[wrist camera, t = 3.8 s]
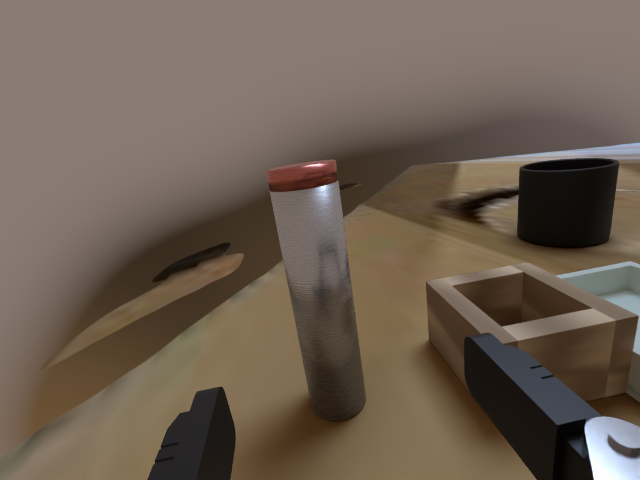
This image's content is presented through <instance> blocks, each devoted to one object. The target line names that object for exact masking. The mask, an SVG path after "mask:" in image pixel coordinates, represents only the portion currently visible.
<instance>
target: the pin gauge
mask: <svg viewBox="0 0 640 480" xmlns="http://www.w3.org/2000/svg"><path fill="white" fill-rule="evenodd" d="M266 173H267V179H268V184H269V189H270V194H271V199H272V204H273V209H274V215H275V220H276V225H277V230H278V235H279V241H280V246H281V251H282V256H283V261H284V266H285V272H286V277H287V282H288V287H289V292H290V297H291V303H292V308H293V313H294V318H295V323H296V329H297V334H298V339H299V344H300V349H301V354H302V360H303V365H304V370H305V375H306V380H307V385H308V391H309V396H310V401H311V406H312V409H313V411H314V412H315V413H316V415H318V416H319V417H320V418H322V419H324V420H328V421H335V422H337V421H344V420H348V419H350V418H352V417H354V416H355V415H357V414H358V413H359V412H360V411H361V410H362V409H363V407H364V405H365V402H366V393H365V385H364V378H363V370H362V362H361V354H360V347H359V339H358V331H357V323H356V316H355V308H354V300H353V292H352V284H351V277H350V269H349V261H348V253H347V246H346V238H345V230H344V222H343V215H342V208H341V199H340V191H339V184H338V176H337V168H336V161H335V160H322V161H314V162H306V163H299V164H293V165H287V166H283V167H277V168H273V169H270V170H267V171H266Z"/></svg>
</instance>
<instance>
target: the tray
mask: <svg viewBox="0 0 640 480" xmlns="http://www.w3.org/2000/svg"><path fill="white" fill-rule="evenodd" d="M557 277H559V278H561V279H563V280H565V281H567V282H569V283H571V284H573V285H576V286H578V287H580V288H582V289H584V290H586V291H588V292H590V293H592V294H594V295H597V296H599V297H601V298H603V299H605V300H607V301H609V302H611V303H613V304H615V305H618V306H620V307H622V308H624V309H626V310H628V311H630V312H632V313H634V314H636V315H639V318H638V324H637V330H636V336H635V342H634V348H633V354H632V360H631V366H630V372H629V377H628V383H627V389H626V393H627V394H628V395H630V396H631V397H633V398H634V399H635V400H637V401H638V402H640V264H637V263H634V262H631V261H630V262H624V263H619V264H614V265H609V266H604V267H599V268H593V269H588V270H583V271H578V272H573V273H568V274H562V275H557Z"/></svg>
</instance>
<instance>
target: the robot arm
mask: <svg viewBox="0 0 640 480" xmlns="http://www.w3.org/2000/svg"><path fill="white" fill-rule="evenodd" d="M464 376H465V381H466V384H467V387H468V389H469V391H470V393H471V394H472V396H473V397H474V398H475V400H476V401H477V402H478V404H479V405H480V406H481V407H482V409H483V410H484V411H485V413H486V414H487V415H488V417H489V418H490V419H491V420H492V422H493V423H494V424H495V426H496V427H497V428H498V430H499V431H500V432H501V433H502V435H503V436H504V437H505V439H506V440H507V441H508V443H509V444H510V445H511V447H512V448H513V449H514V450H515V452H516V453H517V454H518V456H519V457H520V458H521V460H522V461H523V462H524V463H525V465H526V466H527V467H528V469H529V470H530V471H531V473H532V474H533V475H534V476H535V478H536V479H537V480H640V427H638V426H636V425H634V424H632V423H629V422H627V421H624V420H621V419H617V418H612V417H603V416H602V415H601V414H599V413H598V412H597V411H596V410H595V409H593V408H592V407H591V406H590V405H589V404H588V403H586V402H585V401H584V400H583V399H582V398H580V397H579V396H578V395H577V394H576V393H574V392H573V391H572V390H571V389H570V388H569V387H567V386H566V385H565V384H564V383H563V382H561V381H560V380H559V379H558V378H557V377H554V376H553V374H552V373H551V372H549V371H548V370H547V369H546V368H545V367H542V365H541V364H540V363H539V362H538V361H536V360H535V359H534V358H533V357H532V356H530V355H529V354H528V353H526V352H524V351H522V350H520V349H518V348H516V347H514V346H512V345H506V346H505V345H504V344H503V343H501V342H500V341H499V340H498V339H497V338H496V337H495V336H494V335H492V334H491V333H482V334H477V335H473V336H468V337H465V339H464ZM235 440H236V438H235V426H234V422H233V419H232V415H231V412H230V408H229V405H228V401H227V398H226V395H225V391H224V389H223V387H217V388H212V389H207V390H202V391H198V392H197V393H196V394H195V397H194V400H193V403H192V406H191V409H190V411H188V412H183V413H180V414H179V415H178V416H177V418H176V419H175V420H174V421H173V423H172V424H171V425H170V427H169V428H168V429H167V432H166V434H165V437H164V439H163V442H162V444H161V449H160V450H159V452H158V454H157V457H156V459H155V464H154V465H153V467H152V469H151V472H150V475H149V477H148V480H230V478H231V471H232V464H233V457H234V451H235Z"/></svg>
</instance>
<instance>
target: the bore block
mask: <svg viewBox="0 0 640 480" xmlns="http://www.w3.org/2000/svg"><path fill="white" fill-rule="evenodd" d="M426 292H427V311H428V330H429V340H430V341H431V342H432V344H433V345H434V346H435V348H436V349H437V350H438V352H439V353H440V354H441V355H442V357H443V358H444V359H445V361H446V362H447V363H448V365H449V366H450V367H451V369H452V370H453V371H454V372H455V374H456V375H457V376H458V378H459V379H460V380H461V382H462V383H463V384H464V386H465V387H466V388H467V390H468V391H469V389H468V387H467V384H466V381H465V376H464V339H465V337H468V336H473V335H477V334H482V333H491V334H492V335H494V336H495V337H496V338H497V339H498V340H499V341H500V342H501V343H503V344H504V345H505V346H506V345H512V346H514V347H516V348H518V349H520V350H522V351H524V352H526V353H528V354H529V355H530V356H532V357H533V358H534V359H535V360H536V361H538V362H539V363H540V364H541V365H542V367H545V368H546V369H547V370H548V371H549V372H551V373H552V374H553V376H554V377H557V378H558V379H559V380H560V381H561V382H563V383H564V384H565V385H566V386H567V387H569V388H570V389H571V390H572V391H573V392H574V393H576V394H577V395H578V396H579V397H580V398H582V399H583V400H584V401H585V402H587V401H591V400H595V399H600V398H604V397H609V396H613V395H618V394H622V393H626V389H627V383H628V377H629V372H630V366H631V360H632V354H633V348H634V342H635V336H636V330H637V324H638V318H639V315H636V314H634V313H632V312H630V311H628V310H626V309H624V308H622V307H620V306H618V305H615V304H613V303H611V302H609V301H607V300H605V299H603V298H601V297H599V296H597V295H594V294H592V293H590V292H588V291H586V290H584V289H582V288H580V287H578V286H576V285H573V284H571V283H569V282H567V281H565V280H563V279H561V278H559V277H557V276H555V275H552V274H550V273H548V272H546V271H544V270H542V269H540V268H538V267H536V266H534V265H532V264H529V263H522V264H516V265H511V266H506V267H500V268H495V269H490V270H485V271H479V272H474V273H469V274H463V275H458V276H453V277H448V278H442V279H437V280H432V281H426ZM469 392H470V391H469ZM471 395H472V394H471ZM474 399H475V398H474ZM477 403H478V402H477ZM480 407H481V406H480ZM481 408H482V407H481ZM484 412H485V411H484ZM487 416H488V415H487ZM490 420H491V419H490ZM491 421H492V420H491Z"/></svg>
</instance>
